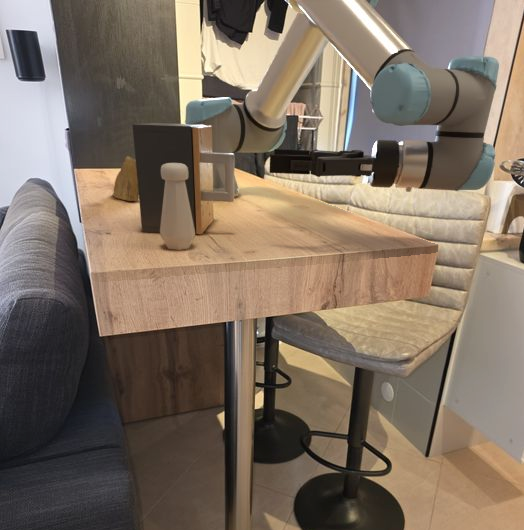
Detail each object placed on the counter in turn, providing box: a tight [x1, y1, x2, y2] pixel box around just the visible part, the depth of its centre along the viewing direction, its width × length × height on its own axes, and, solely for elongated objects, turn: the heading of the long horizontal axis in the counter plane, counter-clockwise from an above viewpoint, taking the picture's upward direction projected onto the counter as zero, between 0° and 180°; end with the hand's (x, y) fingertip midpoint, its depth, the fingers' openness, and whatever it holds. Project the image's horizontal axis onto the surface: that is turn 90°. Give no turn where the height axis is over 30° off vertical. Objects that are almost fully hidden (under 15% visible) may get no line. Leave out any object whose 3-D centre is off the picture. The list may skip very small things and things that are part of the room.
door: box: [192, 126, 235, 235], centre depth 85 cm, size 7×13×18 cm, turn 176°
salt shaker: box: [159, 163, 196, 251], centre depth 73 cm, size 6×6×13 cm
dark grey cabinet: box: [131, 122, 205, 235], centre depth 86 cm, size 10×13×18 cm
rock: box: [111, 155, 139, 202], centre depth 113 cm, size 11×9×10 cm
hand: (271, 160), depth 79 cm, fingers open, 13 cm apart
